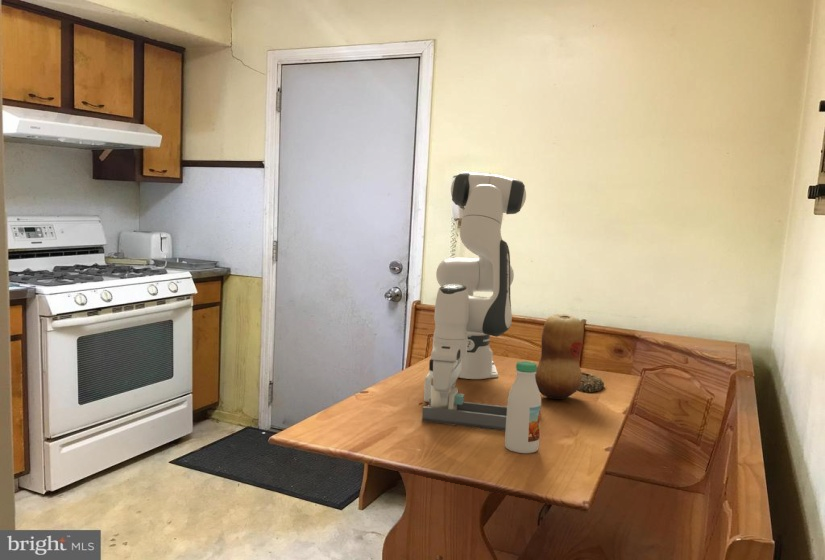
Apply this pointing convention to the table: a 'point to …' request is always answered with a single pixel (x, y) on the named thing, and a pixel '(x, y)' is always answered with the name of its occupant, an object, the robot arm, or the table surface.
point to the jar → (437, 398)
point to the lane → (468, 415)
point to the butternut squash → (560, 357)
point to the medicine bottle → (428, 382)
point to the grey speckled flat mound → (590, 383)
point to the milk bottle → (523, 411)
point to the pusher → (455, 399)
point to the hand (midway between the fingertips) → (447, 399)
